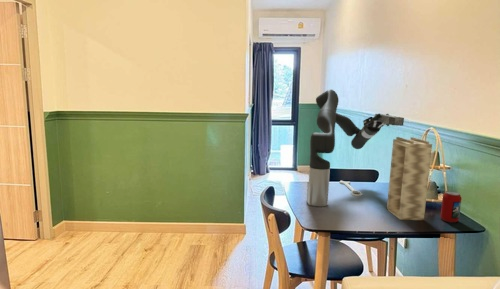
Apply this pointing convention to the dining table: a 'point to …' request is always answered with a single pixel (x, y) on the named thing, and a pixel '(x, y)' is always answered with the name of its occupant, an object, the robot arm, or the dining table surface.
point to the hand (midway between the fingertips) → (383, 115)
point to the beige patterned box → (409, 178)
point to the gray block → (391, 120)
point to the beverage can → (451, 206)
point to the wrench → (351, 188)
